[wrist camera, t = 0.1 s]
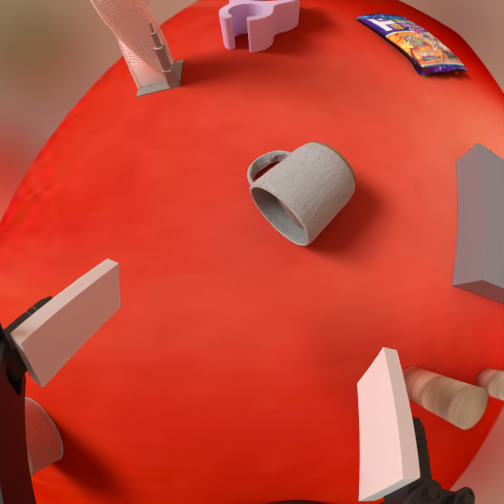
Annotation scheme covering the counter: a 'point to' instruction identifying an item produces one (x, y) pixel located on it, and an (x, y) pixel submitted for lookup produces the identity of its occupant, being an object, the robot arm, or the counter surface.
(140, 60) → the skyscraper
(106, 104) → the counter surface
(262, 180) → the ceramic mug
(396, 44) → the food package
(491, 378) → the short pin
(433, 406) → the long pin
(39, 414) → the canned food
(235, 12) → the clip
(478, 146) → the hole block
